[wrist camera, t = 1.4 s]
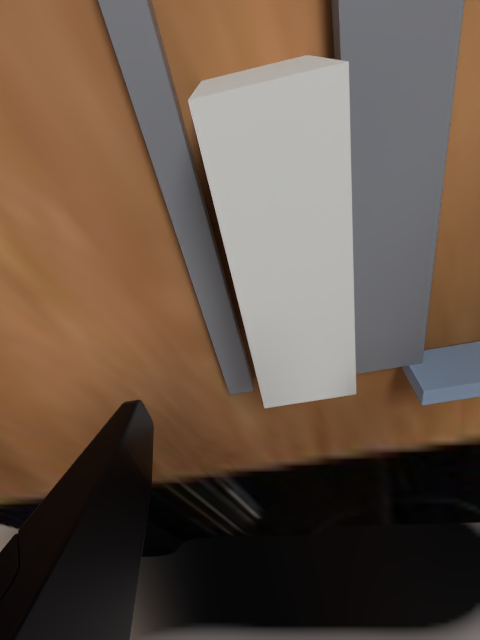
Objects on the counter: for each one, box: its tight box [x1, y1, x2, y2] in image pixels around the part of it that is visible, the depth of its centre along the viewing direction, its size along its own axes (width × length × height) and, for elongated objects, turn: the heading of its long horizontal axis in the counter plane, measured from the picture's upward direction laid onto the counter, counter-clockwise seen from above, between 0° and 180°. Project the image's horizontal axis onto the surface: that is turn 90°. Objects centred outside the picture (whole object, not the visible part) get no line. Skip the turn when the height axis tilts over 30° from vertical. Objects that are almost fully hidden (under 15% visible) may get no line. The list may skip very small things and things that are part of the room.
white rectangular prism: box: [188, 55, 356, 408], centre depth 15 cm, size 4×12×6 cm, turn 11°
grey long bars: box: [98, 0, 464, 395], centre depth 16 cm, size 19×20×1 cm
